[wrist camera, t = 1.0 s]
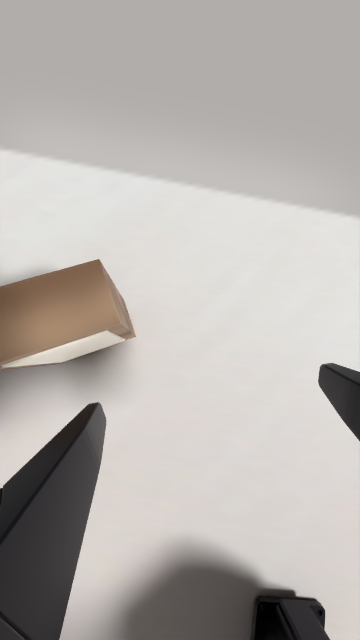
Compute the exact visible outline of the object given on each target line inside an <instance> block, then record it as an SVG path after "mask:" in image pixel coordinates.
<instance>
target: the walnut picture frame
mask: <svg viewBox="0 0 360 640" xmlns="http://www.w3.org/2000/svg"><path fill="white" fill-rule="evenodd" d="M133 337H136V335H135V332H134V329H133V326H132V323H131V320H130V317H129V314H128V311H127V308H126V305H125V302H124V300H123V298H122V296H121V295H120V293H119V291H118V290H117V288H116V286H115V285H114V283H113V281H112V280H111V278H110V276H109V275H108V273H107V271H106V270H105V268H104V266H103V265H102V263H101V262H100V260H99V259H98V260H94V261H90V262H87V263H83V264H80V265H76V266H73V267H69V268H65V269H62V270H58V271H55V272H51V273H48V274H44V275H40V276H37V277H33V278H30V279H26V280H23V281H19V282H15V283H12V284H8V285H5V286H1V287H0V370H3V369H13V368H23V367H33V366H42V365H52V364H58V363H61V362H65V361H68V360H71V359H74V358H77V357H80V356H82V355H85V354H88V353H91V352H94V351H97V350H100V349H103V348H106V347H109V346H111V345H114V344H117V343H120V342H123V341H126V340H127V339H130V338H133Z"/></svg>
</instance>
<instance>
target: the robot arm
mask: <svg viewBox="0 0 360 640" xmlns="http://www.w3.org/2000/svg"><path fill="white" fill-rule="evenodd" d="M318 383H319V386H320V388H321V389H322V391H323V392H324V394H325V395H326V396H327V398H328V399H329V401H330V402H331V404H332V405H333V407H334V408H335V410H336V411H337V413H338V414H339V416H340V417H341V418H342V420H343V421H344V422H345V424H346V425H347V426H348V427H349V429H350V430H351V431H352V432H353V433H354V435H355V436H356V437H357V438H358V440H359V441H360V372H358V371H355V370H352V369H349V368H346V367H343V366H340V365H337V364H334V363H328V364H322V365H321V366H320V371H319V379H318ZM105 429H106V417H105V414H104V411H103V409H102V406H101V404H100V403H99V402H97V403H91V404H88V405H87V406H86V407H85V408H84V409H83V410H82V411H81V412H80V413H79V414H78V415H77V416H76V417H75V418H74V419H72V420H71V421H70V422H69V423H68V424H67V425H66V426H65V427H64V428H63V429H62V430H61V431H60V432H59V433H58V434H57V435H56V436H55V437H54V438H53V439H52V440H51V441H49V442H48V443H47V444H46V445H45V446H44V447H43V448H42V449H41V450H40V451H39V452H38V453H37V454H36V455H35V456H34V457H33V458H32V459H31V460H30V461H29V462H28V463H26V464H25V465H24V466H23V467H22V468H21V469H20V470H19V471H18V472H17V473H16V474H15V475H14V476H13V477H12V478H11V479H10V480H9V481H8V482H7V483H6V484H4V486H3V488H0V640H59V638H60V634H61V630H62V626H63V621H64V617H65V613H66V609H67V604H68V600H69V596H70V592H71V588H72V583H73V579H74V575H75V571H76V567H77V562H78V558H79V554H80V550H81V545H82V541H83V537H84V533H85V529H86V524H87V520H88V516H89V512H90V507H91V503H92V499H93V495H94V491H95V486H96V482H97V478H98V474H99V469H100V465H101V459H102V451H103V444H104V436H105ZM261 605H262V606H261ZM324 627H325V610H324V608H323V606H322V605H321V603H320V602H318V601H308V600H297V599H286V598H275V597H263V596H259V597H258V598H257V599H256V601H255V608H254V618H253V629H252V639H251V640H330V639H329V637H328V635H327V634H326V632H325V631H324Z"/></svg>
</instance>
